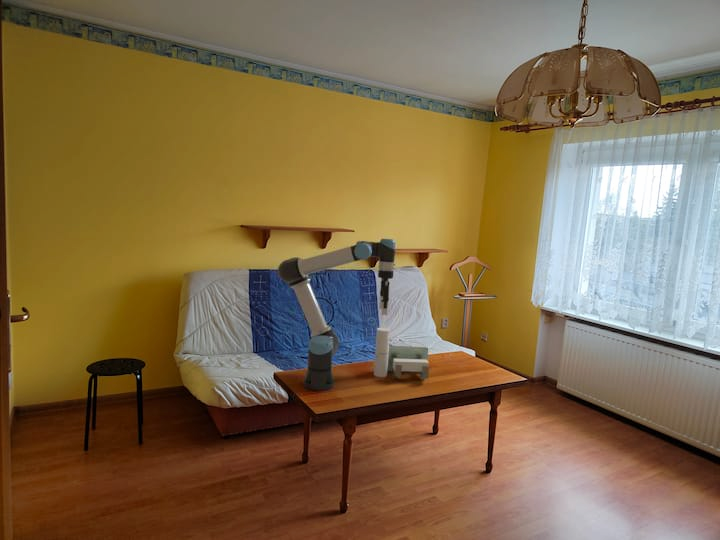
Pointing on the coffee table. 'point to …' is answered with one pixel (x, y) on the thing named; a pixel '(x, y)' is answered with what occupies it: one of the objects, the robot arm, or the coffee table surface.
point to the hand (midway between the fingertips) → (383, 311)
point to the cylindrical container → (381, 352)
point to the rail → (410, 364)
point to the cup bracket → (407, 353)
